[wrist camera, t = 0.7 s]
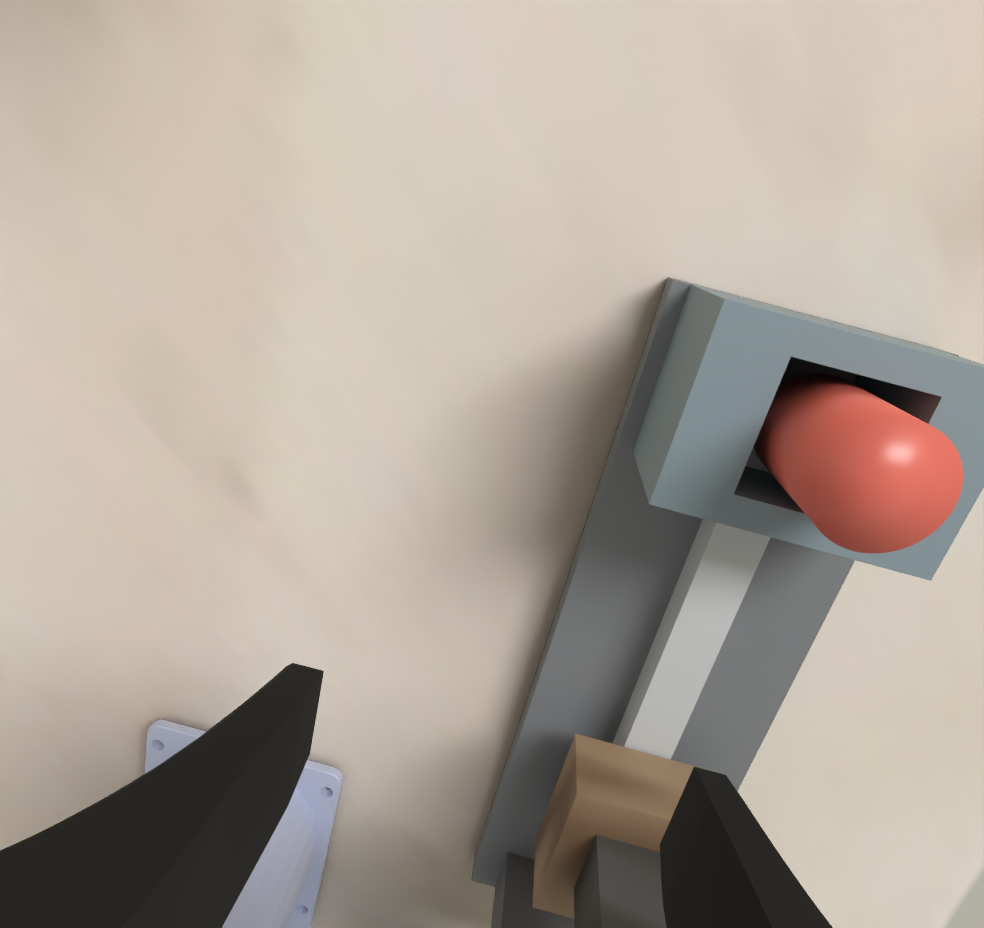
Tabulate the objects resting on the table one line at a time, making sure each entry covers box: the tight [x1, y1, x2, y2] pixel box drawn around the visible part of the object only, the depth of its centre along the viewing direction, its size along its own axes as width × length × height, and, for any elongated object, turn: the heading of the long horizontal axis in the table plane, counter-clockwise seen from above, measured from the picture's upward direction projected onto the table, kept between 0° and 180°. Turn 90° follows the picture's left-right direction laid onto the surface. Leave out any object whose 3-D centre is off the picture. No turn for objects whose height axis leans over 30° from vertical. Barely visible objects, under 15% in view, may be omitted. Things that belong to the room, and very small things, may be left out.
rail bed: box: [471, 277, 984, 928], centre depth 21 cm, size 24×8×5 cm, turn 166°
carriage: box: [533, 733, 714, 928], centre depth 19 cm, size 5×5×8 cm
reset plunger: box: [754, 373, 963, 554], centre depth 14 cm, size 3×3×4 cm
